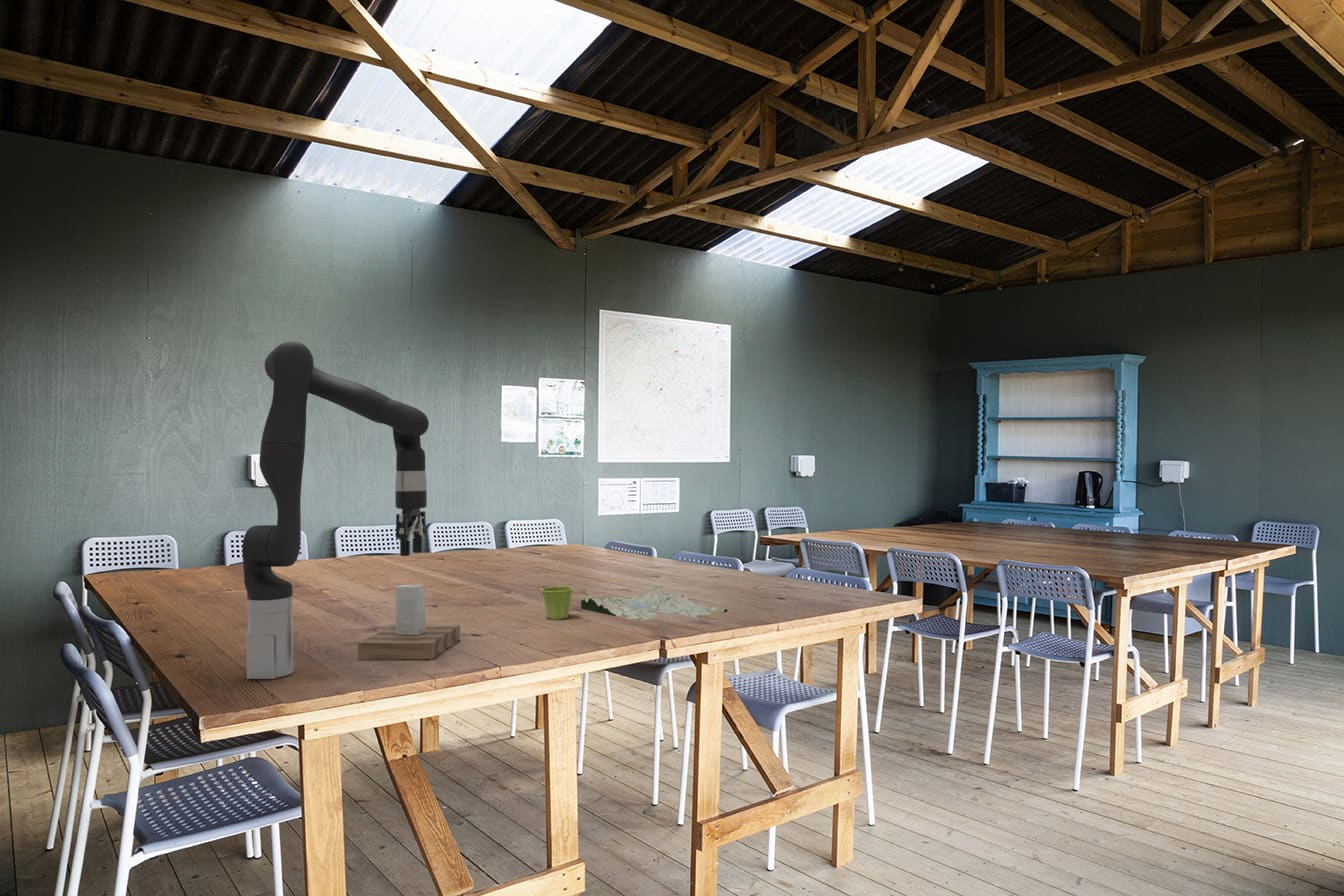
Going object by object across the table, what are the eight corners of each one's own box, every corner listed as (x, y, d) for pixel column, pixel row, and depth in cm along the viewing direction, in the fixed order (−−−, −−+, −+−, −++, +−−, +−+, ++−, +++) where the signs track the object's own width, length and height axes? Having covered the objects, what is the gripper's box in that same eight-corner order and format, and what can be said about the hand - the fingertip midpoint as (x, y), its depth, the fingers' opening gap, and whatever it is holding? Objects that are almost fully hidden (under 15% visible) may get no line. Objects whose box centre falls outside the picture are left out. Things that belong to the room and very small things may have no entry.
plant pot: (571, 620, 255) (570, 591, 255) (539, 621, 256) (538, 591, 256) (575, 615, 265) (575, 586, 265) (544, 615, 265) (544, 586, 265)
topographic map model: (727, 613, 268) (727, 597, 268) (653, 626, 248) (653, 609, 248) (653, 599, 295) (653, 584, 295) (580, 610, 275) (580, 594, 275)
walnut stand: (432, 659, 208) (432, 643, 208) (358, 659, 209) (357, 643, 209) (460, 640, 230) (459, 624, 230) (392, 640, 231) (392, 625, 231)
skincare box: (426, 632, 221) (425, 584, 221) (417, 635, 217) (417, 587, 217) (404, 631, 223) (403, 584, 223) (395, 634, 218) (394, 586, 218)
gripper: (415, 489, 213) (416, 557, 212) (435, 488, 227) (435, 551, 227) (385, 490, 213) (385, 557, 213) (406, 488, 227) (407, 551, 227)
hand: (411, 554), depth 220 cm, fingers open, 8 cm apart
